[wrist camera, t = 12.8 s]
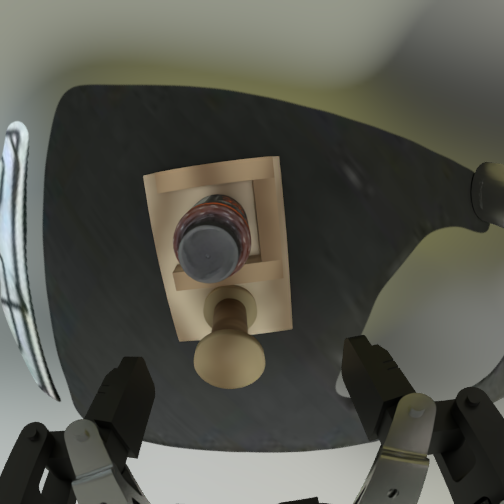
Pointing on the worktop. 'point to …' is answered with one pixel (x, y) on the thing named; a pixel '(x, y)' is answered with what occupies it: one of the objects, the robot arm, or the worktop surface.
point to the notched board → (261, 229)
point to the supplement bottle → (213, 239)
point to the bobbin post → (229, 340)
